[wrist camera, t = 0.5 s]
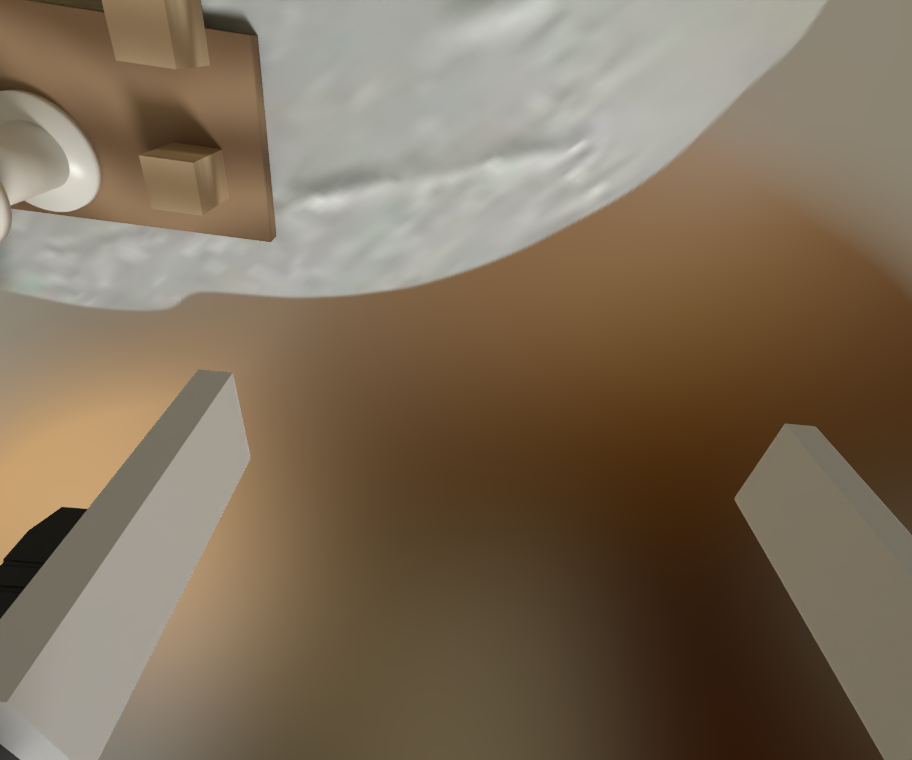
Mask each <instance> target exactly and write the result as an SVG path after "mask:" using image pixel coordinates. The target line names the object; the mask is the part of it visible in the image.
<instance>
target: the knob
mask: <svg viewBox="0 0 912 760" xmlns="http://www.w3.org/2000/svg"><path fill="white" fill-rule="evenodd" d="M102 178H103V174H102V166H101V162H100V158H99V156H98V153H97V151H96V149H95V146H94V144H93V143H92V141H91V139H90V138H89V136H88V135H87V133H86V132H85V131H84V129H83V128H82V127H81V126H80V125H79V123H78V122H77V121H76V120H75V119H74V118H73V117H72V116H71V115H70V114H68V113H67V112H66V111H65V110H64V109H62V108H61V107H60V106H58V105H57V104H55V103H54V102H52V101H50V100H48V99H47V98H45V97H42V96H40V95H38V94H35V93H32V92H28V91H23V90H5V91H0V243H1V242H2V241H3V240H4V239H5V238H6V236H7V235H8V233H9V230H10V227H11V222H12V212H11V206H10V205H13V204H16V203H18V202H21V201H26V202H28V203H30V204H32V205H34V206H36V207H39V208H42V209H45V210H49V211H54V212H69V211H73V210H76V209H79V208H81V207H83V206H85V205H88V204H89V203H91V202H92V201H93V200H94V199H95V198H96V197H97V195H98V194H99V192H100V189H101V186H102Z"/></svg>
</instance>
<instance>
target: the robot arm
mask: <svg viewBox="0 0 912 760" xmlns="http://www.w3.org/2000/svg"><path fill="white" fill-rule="evenodd" d="M249 460H250V452H249V448H248V443H247V439H246V434H245V429H244V424H243V419H242V415H241V410H240V405H239V401H238V396H237V391H236V386H235V382H234V377H233V373H231V372H220V371H210V370H198V371H197V372H196V373H195V375H194V376H193V377H192V378H191V379H190V381H189V382H188V383H187V385H186V386H185V387H184V388H183V390H182V391H181V392H180V393H179V395H178V396H177V397H176V398H175V400H174V401H173V402H172V403H171V405H170V406H169V407H168V408H167V410H166V411H165V412H164V414H163V415H162V416H161V417H160V419H159V420H158V421H157V422H156V424H155V425H154V426H153V427H152V429H151V430H150V431H149V432H148V434H147V435H146V436H145V438H144V439H143V440H142V441H141V443H140V444H139V445H138V446H137V448H136V449H135V450H134V452H133V453H132V454H131V455H130V456H129V458H128V459H127V460H126V462H125V463H124V464H123V465H122V467H121V468H120V469H119V470H118V471H117V473H116V474H115V475H114V477H113V478H112V479H111V480H110V482H109V483H108V484H107V485H106V487H105V488H104V489H103V490H102V492H101V493H100V494H99V495H98V497H97V498H96V499H95V500H94V502H93V503H92V504H91V506H90V507H89V508H88V509H80V508H66V507H61V508H60V509H59V510H57V511H56V512H54V513H53V514H52V515H50V516H49V517H48V518H46V519H44V520H43V521H42V522H40V523H39V524H37V525H36V526H34V527H33V528H32V529H30V530H29V531H28V532H27V533H26V534H25V535H24V536H23V538H22V539H21V540H20V541H19V542H18V543H17V545H16V546H15V547H14V548H13V549H12V550H11V551H10V552H9V554H8V555H7V556H6V557H5V558H4V562H3V564H2V565H0V760H98V759H99V757H100V755H101V753H102V751H103V749H104V747H105V745H106V743H107V741H108V739H109V737H110V735H111V733H112V731H113V729H114V727H115V725H116V723H117V721H118V719H119V717H120V715H121V713H122V711H123V709H124V707H125V705H126V703H127V701H128V699H129V697H130V696H131V694H132V692H133V690H134V688H135V686H136V684H137V682H138V680H139V678H140V676H141V673H142V672H143V670H144V668H145V666H146V664H147V662H148V660H149V658H150V656H151V654H152V652H153V650H154V648H155V646H156V644H157V642H158V640H159V638H160V636H161V634H162V632H163V630H164V628H165V626H166V624H167V622H168V620H169V618H170V616H171V614H172V612H173V611H174V609H175V606H176V605H177V603H178V600H179V599H180V597H181V595H182V593H183V591H184V589H185V587H186V585H187V583H188V581H189V579H190V577H191V575H192V573H193V571H194V569H195V567H196V565H197V563H198V561H199V559H200V557H201V555H202V553H203V551H204V549H205V547H206V545H207V543H208V541H209V539H210V537H211V535H212V533H213V531H214V529H215V527H216V525H217V523H218V521H219V520H220V518H221V515H222V514H223V512H224V510H225V508H226V506H227V504H228V502H229V500H230V498H231V496H232V494H233V492H234V490H235V488H236V486H237V484H238V482H239V480H240V478H241V476H242V474H243V472H244V470H245V468H246V466H247V464H248V462H249ZM735 501H736V503H737V505H738V506H739V508H740V510H741V511H742V513H743V515H744V517H745V518H746V520H747V522H748V524H749V525H750V527H751V529H752V530H753V532H754V534H755V536H756V538H757V539H758V541H759V543H760V545H761V546H762V548H763V550H764V551H765V553H766V555H767V557H768V558H769V560H770V562H771V564H772V565H773V567H774V569H775V570H776V572H777V574H778V576H779V577H780V579H781V581H782V583H783V585H784V586H785V588H786V590H787V591H788V593H789V595H790V597H791V598H792V600H793V602H794V604H795V605H796V607H797V609H798V611H799V612H800V614H801V616H802V617H803V619H804V621H805V623H806V624H807V626H808V628H809V630H810V631H811V633H812V635H813V637H814V638H815V640H816V642H817V644H818V645H819V647H820V649H821V651H822V652H823V654H824V655H825V657H826V659H827V661H828V662H829V664H830V666H831V668H832V670H833V671H834V673H835V675H836V677H837V678H838V680H839V682H840V684H841V685H842V687H843V689H844V690H845V692H846V693H847V696H848V697H849V699H850V701H851V702H852V704H853V706H854V708H855V709H856V711H857V713H858V715H859V716H860V718H861V720H862V722H863V723H864V725H865V727H866V729H867V730H868V732H869V734H870V735H871V737H872V739H873V741H874V742H875V744H876V746H877V748H878V750H879V751H880V753H881V755H882V756H883V758H884V760H912V535H911V534H910V533H909V532H908V530H907V529H906V528H905V527H904V526H903V525H902V524H901V523H900V522H899V521H898V519H897V518H896V517H895V516H894V515H893V514H892V512H891V511H890V510H889V509H888V508H887V507H886V506H885V504H884V503H882V501H881V500H880V499H879V498H878V497H877V495H876V494H875V493H874V492H873V491H872V490H871V489H870V488H869V487H868V485H867V484H866V483H865V482H864V481H863V480H862V479H861V477H860V476H859V475H858V474H857V473H856V472H855V471H854V470H853V468H852V467H851V466H850V465H849V464H848V463H847V462H846V461H845V460H844V458H843V457H842V456H841V455H840V454H839V453H838V452H837V450H836V449H835V448H834V447H833V446H832V445H831V444H830V442H829V441H828V440H827V439H826V438H825V437H824V436H823V435H822V433H821V432H820V431H819V430H818V429H817V428H816V427H814V426H804V425H792V424H785V425H784V426H783V427H782V429H781V430H780V432H779V433H778V435H777V436H776V438H775V439H774V441H773V442H772V444H771V445H770V447H769V448H768V450H767V451H766V452H765V454H764V455H763V457H762V459H761V460H760V461H759V463H758V464H757V466H756V467H755V469H754V470H753V472H752V473H751V475H750V476H749V478H748V479H747V480H746V482H745V484H744V485H743V486H742V488H741V489H740V491H739V492H738V494H737V495H736V497H735Z"/></svg>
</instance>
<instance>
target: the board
mask: <svg viewBox="0 0 912 760" xmlns="http://www.w3.org/2000/svg"><path fill="white" fill-rule="evenodd" d="M102 5H103V9H104V12H103V11H97V10H91V9H84V8H78V7H71V6H65V5H59V4H52V3H46V2H39V1H33V0H0V91H5V90H23V91H28V92H32V93H35V94H38V95H40V96H42V97H45V98H47V99H48V100H50V101H52V102H54V103H55V104H57V105H58V106H60V107H61V108H62V109H64V110H65V111H66V112H67V113H68V114H70V115H71V116H72V117H73V118H74V119H75V120H76V121H77V122H78V123H79V125H80V126H81V127H82V128H83V129H84V131H85V132H86V133H87V135H88V136H89V138H90V139H91V141H92V143H93V144H94V146H95V149H96V151H97V153H98V156H99V158H100V162H101V166H102V174H103V178H102V186H101V189H100V192H99V194H98V195H97V197H96V198H95V199H94V200H93V201H92V202H91V203H89V204H88V205H85V206H83V207H81V208H79V209H76V210H73V211H69V212H54V211H49V210H45V209H42V208H39V207H36V206H34V205H32V204H30V203H28V202H26V201H21V202H18V203H16V204H13V205H10V206H11V208H12V209H20V210H27V211H35V212H43V213H51V214H58V215H66V216H74V217H82V218H89V219H97V220H105V221H112V222H120V223H128V224H136V225H143V226H151V227H159V228H167V229H174V230H182V231H190V232H198V233H205V234H213V235H221V236H228V237H236V238H244V239H252V240H259V241H267V242H271V241H272V240H273V239H274V238H275V237H276V228H275V217H274V206H273V196H272V185H271V174H270V163H269V153H268V142H267V131H266V121H265V110H264V99H263V88H262V78H261V67H260V56H259V45H258V35H251V34H245V33H238V32H232V31H225V30H219V29H213V28H206V27H204V20H203V13H202V6H201V0H102Z"/></svg>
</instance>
